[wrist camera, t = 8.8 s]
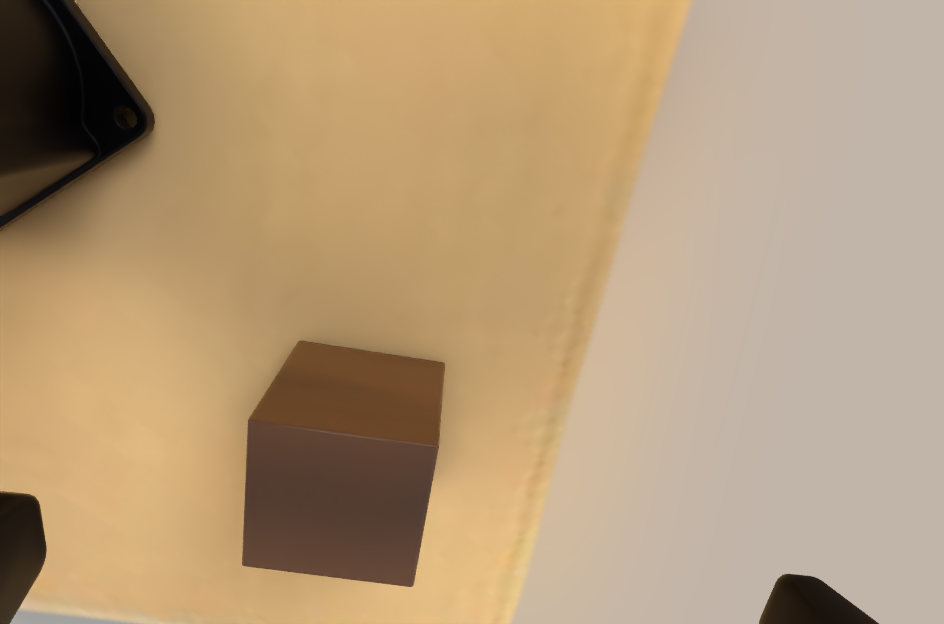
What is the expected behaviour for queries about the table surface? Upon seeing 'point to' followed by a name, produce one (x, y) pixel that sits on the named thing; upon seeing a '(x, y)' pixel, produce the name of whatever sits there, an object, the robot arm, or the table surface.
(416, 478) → the block
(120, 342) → the table surface
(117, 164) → the table surface
